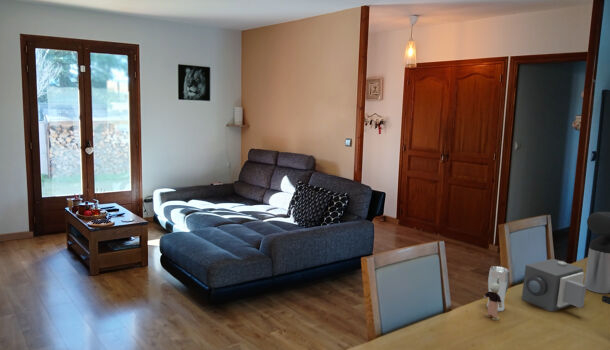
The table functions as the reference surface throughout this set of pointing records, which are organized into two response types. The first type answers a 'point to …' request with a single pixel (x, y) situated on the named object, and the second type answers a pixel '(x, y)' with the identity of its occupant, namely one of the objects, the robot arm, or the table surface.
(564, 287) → the side door
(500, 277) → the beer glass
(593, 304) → the table surface
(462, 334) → the table surface
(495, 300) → the grandmother figurine
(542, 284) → the box
